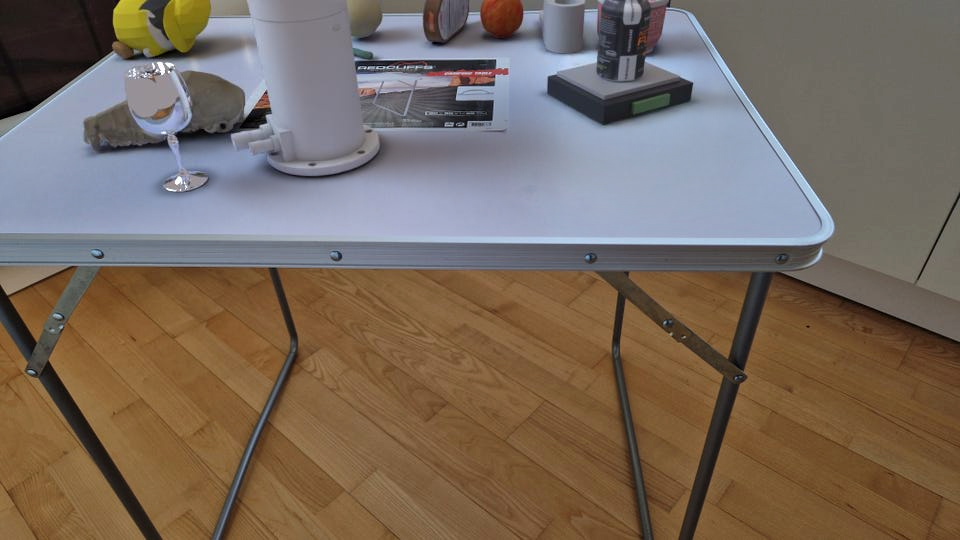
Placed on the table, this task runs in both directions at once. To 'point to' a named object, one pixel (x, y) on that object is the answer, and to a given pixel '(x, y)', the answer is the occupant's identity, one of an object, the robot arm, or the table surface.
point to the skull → (211, 111)
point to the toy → (158, 25)
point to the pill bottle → (623, 39)
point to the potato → (363, 17)
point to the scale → (618, 92)
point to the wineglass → (163, 112)
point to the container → (655, 25)
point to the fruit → (501, 16)
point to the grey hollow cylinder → (562, 25)
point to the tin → (444, 18)
